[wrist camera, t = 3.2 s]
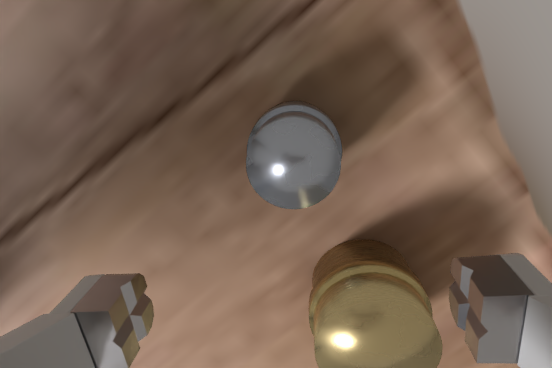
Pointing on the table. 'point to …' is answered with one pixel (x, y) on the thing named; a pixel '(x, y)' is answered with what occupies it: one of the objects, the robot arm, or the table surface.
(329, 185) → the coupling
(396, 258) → the cylinder
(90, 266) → the table surface
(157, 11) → the table surface
